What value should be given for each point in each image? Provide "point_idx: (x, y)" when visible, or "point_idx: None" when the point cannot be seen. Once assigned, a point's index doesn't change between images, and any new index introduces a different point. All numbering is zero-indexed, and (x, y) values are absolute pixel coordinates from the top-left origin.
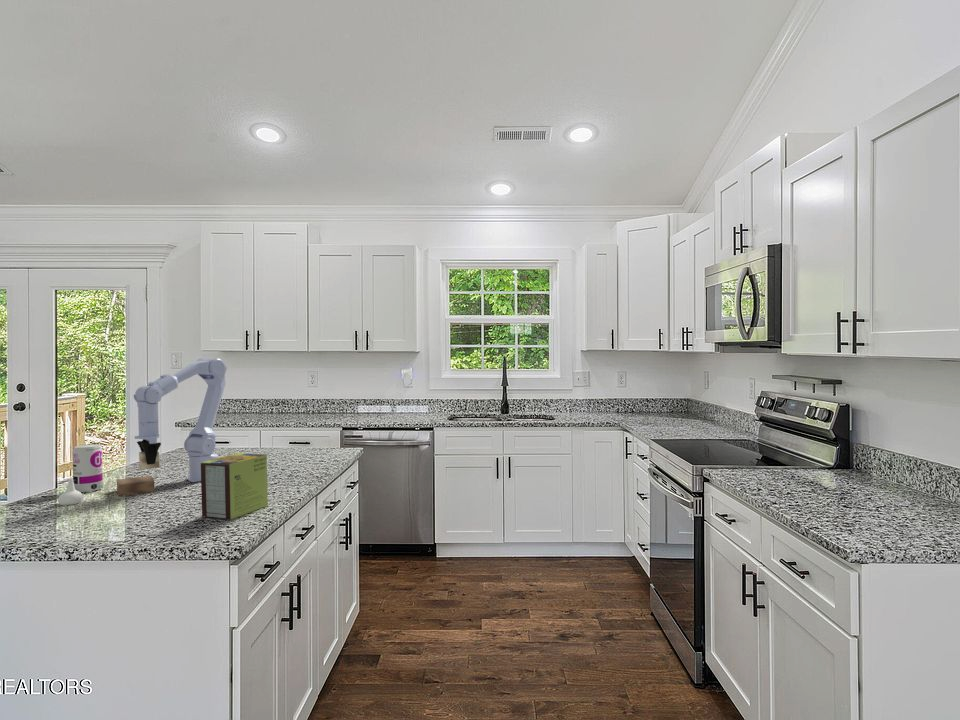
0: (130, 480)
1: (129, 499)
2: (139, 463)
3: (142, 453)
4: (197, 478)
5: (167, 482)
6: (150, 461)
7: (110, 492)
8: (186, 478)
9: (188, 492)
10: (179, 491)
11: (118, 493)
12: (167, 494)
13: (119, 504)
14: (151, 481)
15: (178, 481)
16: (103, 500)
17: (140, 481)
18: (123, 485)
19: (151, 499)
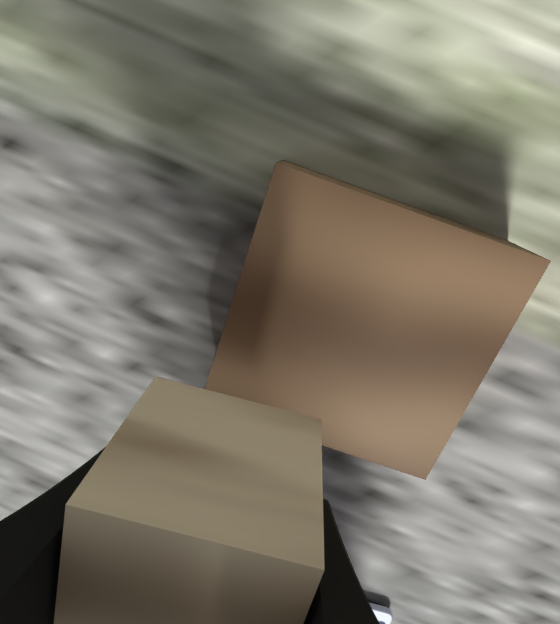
0: (388, 312)
1: (118, 165)
2: (307, 443)
3: (133, 537)
4: None
5: (411, 521)
6: None
7: (487, 180)
8: (377, 607)
9: (29, 452)
10: (96, 441)
11: (326, 176)
12: (70, 370)
13: (11, 47)
14: (206, 387)
15: (374, 560)
16: (249, 21)
17: (266, 338)
18: (265, 199)
19: (4, 253)
